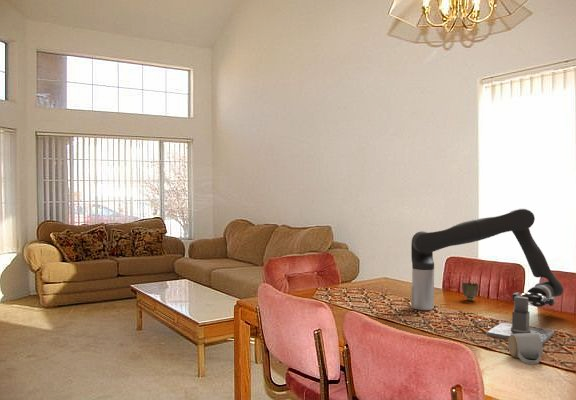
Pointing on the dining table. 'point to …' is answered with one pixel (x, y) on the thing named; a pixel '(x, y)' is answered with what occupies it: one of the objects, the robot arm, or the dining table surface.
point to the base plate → (518, 332)
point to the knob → (520, 314)
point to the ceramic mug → (526, 347)
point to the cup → (470, 290)
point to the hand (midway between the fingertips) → (528, 301)
